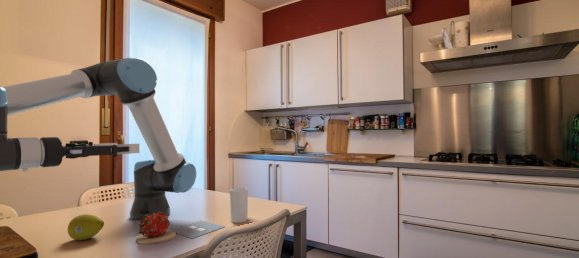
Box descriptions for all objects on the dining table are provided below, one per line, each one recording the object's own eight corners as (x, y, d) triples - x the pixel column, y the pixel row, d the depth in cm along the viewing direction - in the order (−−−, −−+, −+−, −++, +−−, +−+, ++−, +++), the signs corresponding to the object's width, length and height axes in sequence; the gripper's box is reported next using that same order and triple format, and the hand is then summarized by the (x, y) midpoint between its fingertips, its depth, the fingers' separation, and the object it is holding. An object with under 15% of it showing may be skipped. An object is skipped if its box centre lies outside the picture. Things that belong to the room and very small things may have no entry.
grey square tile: (167, 230, 105) (167, 230, 105) (200, 220, 117) (200, 220, 117) (192, 238, 97) (192, 238, 97) (225, 226, 108) (225, 226, 108)
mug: (242, 223, 112) (242, 191, 112) (227, 222, 114) (226, 190, 114) (254, 216, 121) (254, 186, 121) (239, 215, 123) (239, 185, 124)
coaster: (128, 239, 97) (128, 237, 97) (162, 229, 107) (162, 227, 107) (147, 247, 90) (147, 245, 90) (182, 235, 100) (182, 233, 100)
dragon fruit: (136, 247, 92) (165, 240, 104) (155, 233, 91) (182, 227, 102) (126, 223, 95) (155, 218, 106) (145, 208, 94) (172, 205, 105)
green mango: (59, 243, 95) (59, 218, 95) (79, 234, 103) (79, 211, 103) (91, 244, 94) (91, 218, 94) (109, 235, 101) (108, 211, 101)
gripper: (25, 164, 82) (109, 158, 99) (57, 171, 67) (149, 162, 84) (25, 137, 82) (108, 135, 99) (57, 137, 67) (148, 135, 84)
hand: (127, 147), depth 92 cm, fingers open, 13 cm apart
